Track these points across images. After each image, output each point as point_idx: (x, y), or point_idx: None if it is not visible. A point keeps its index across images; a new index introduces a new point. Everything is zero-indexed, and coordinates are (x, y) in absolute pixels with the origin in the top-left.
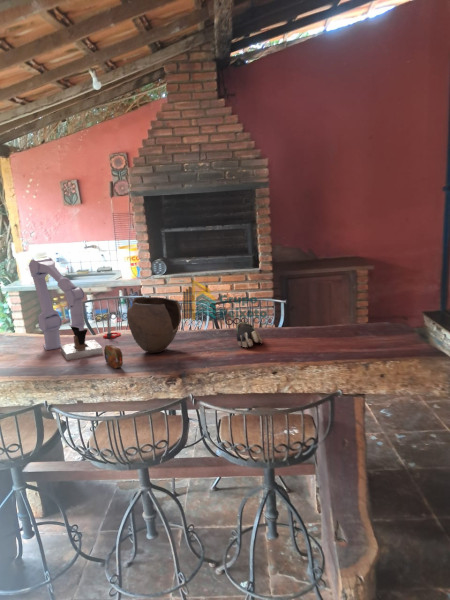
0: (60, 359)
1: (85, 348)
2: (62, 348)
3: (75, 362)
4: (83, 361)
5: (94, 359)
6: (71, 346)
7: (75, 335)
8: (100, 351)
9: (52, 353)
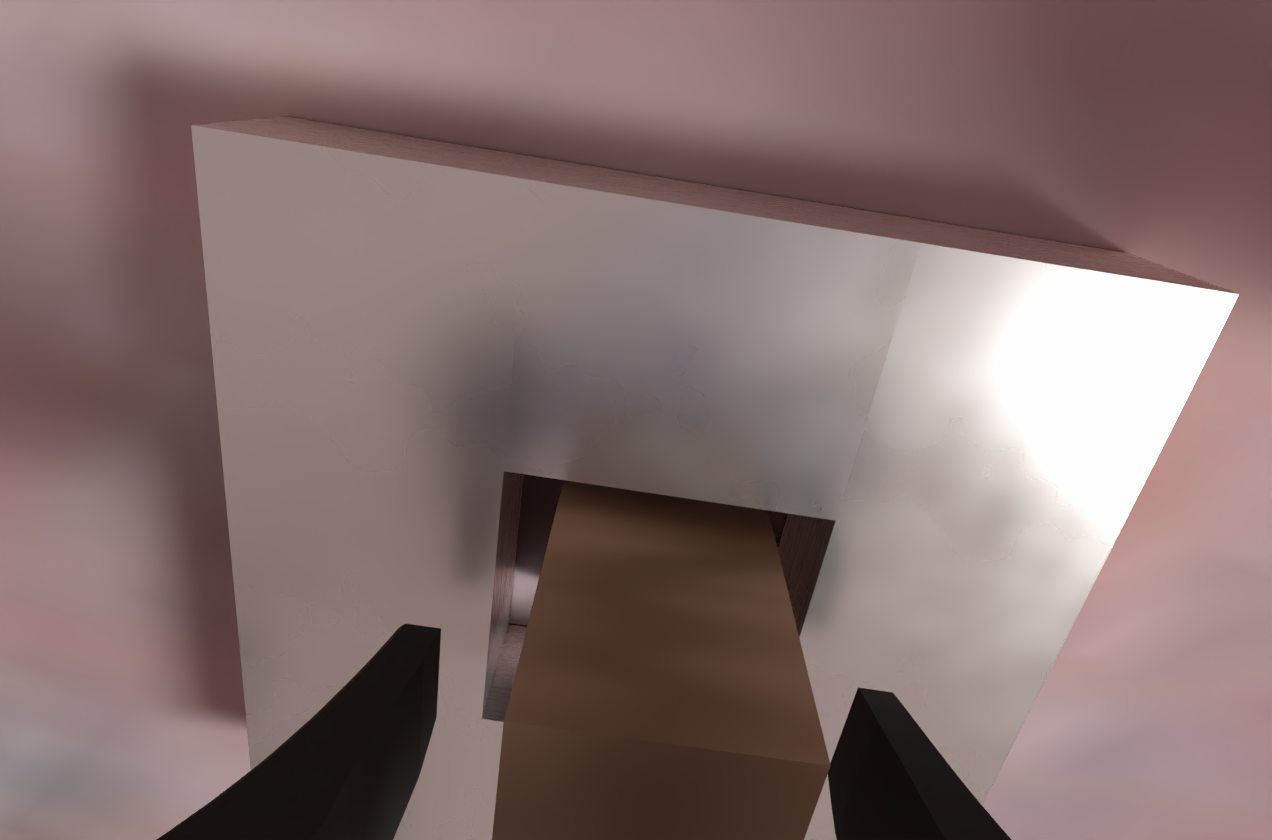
0: (472, 7)
1: (388, 634)
2: (853, 233)
3: (17, 215)
4: (9, 364)
5: (39, 546)
6: (825, 478)
7: (926, 828)
8: None
9: (1189, 12)
